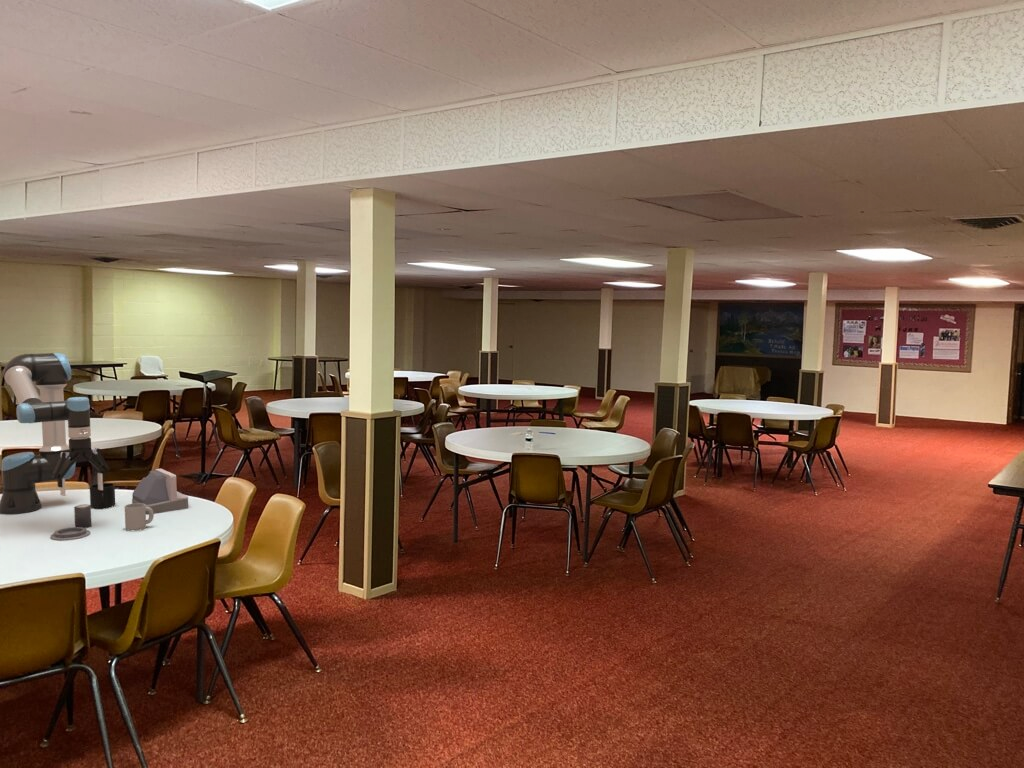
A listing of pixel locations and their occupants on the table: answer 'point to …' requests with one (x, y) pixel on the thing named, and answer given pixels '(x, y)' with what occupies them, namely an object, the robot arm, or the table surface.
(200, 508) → the table surface
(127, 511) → the cup
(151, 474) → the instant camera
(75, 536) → the ring
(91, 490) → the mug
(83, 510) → the dark grey cylinder
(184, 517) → the table surface
